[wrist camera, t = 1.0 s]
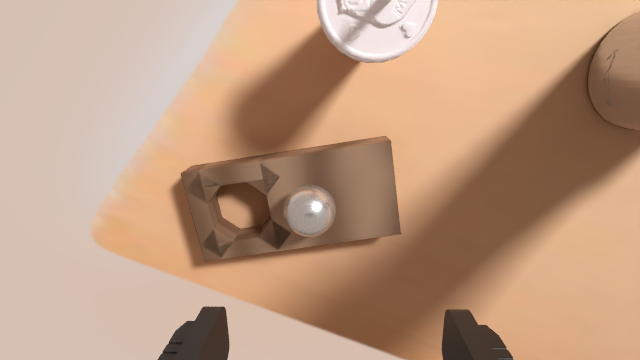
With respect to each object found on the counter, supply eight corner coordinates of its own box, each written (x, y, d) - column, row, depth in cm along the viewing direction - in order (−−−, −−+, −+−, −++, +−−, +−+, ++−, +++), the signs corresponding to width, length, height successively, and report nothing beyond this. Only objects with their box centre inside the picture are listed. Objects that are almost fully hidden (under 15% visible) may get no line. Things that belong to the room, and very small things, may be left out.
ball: (331, 174, 28) (332, 190, 25) (338, 220, 30) (340, 242, 26) (282, 182, 29) (275, 198, 25) (291, 227, 30) (286, 249, 26)
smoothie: (405, 60, 28) (477, 43, 15) (326, 73, 29) (326, 69, 15) (397, -29, 27) (470, -139, 13) (313, -13, 27) (300, -104, 14)
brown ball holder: (385, 135, 30) (390, 141, 28) (395, 222, 32) (400, 234, 30) (191, 166, 31) (180, 173, 29) (213, 248, 33) (205, 261, 31)
